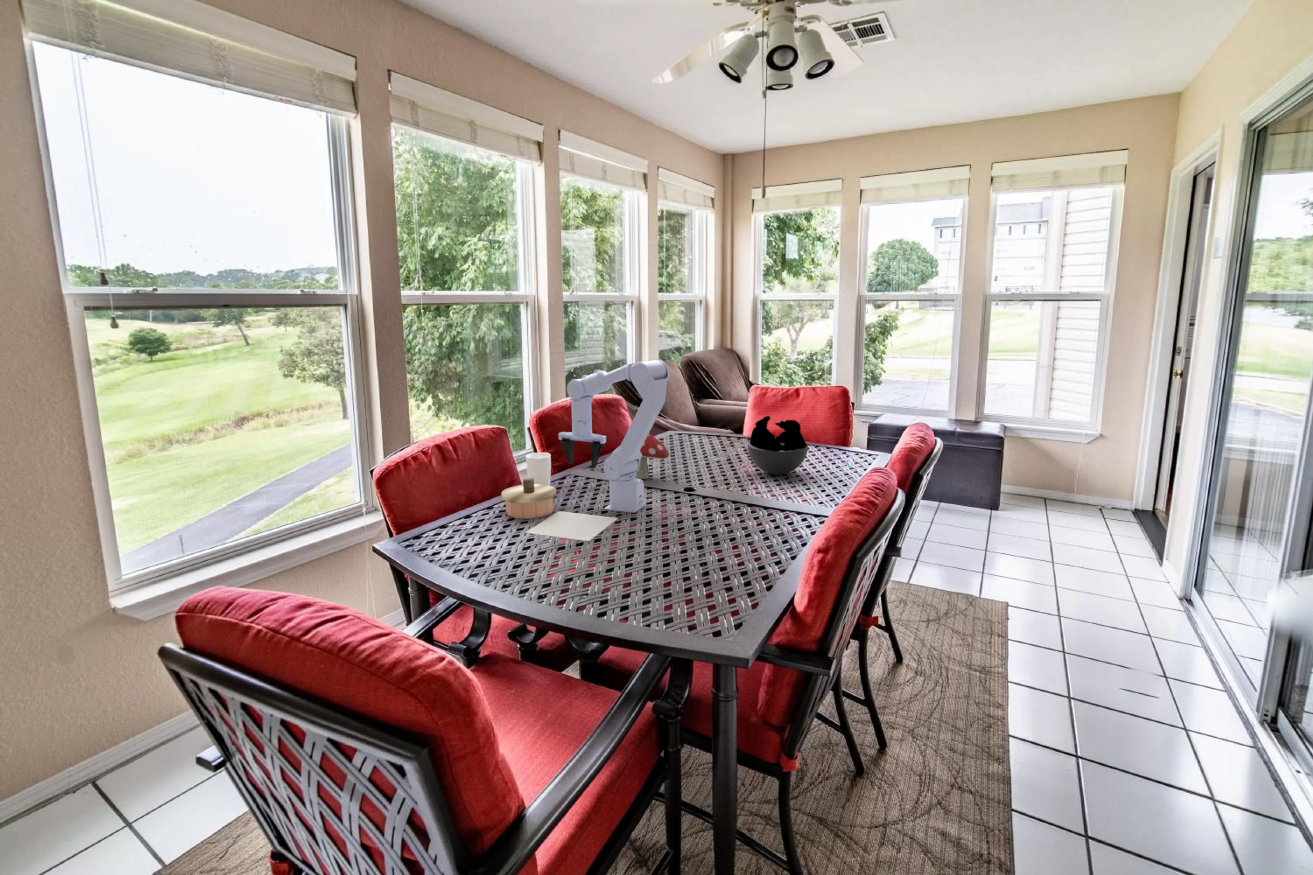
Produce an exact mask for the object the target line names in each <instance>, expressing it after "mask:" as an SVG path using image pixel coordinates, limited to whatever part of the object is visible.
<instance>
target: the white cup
mask: <svg viewBox="0 0 1313 875" xmlns="http://www.w3.org/2000/svg"><path fill="white" fill-rule="evenodd" d="M551 456H552V455H551V453H548V452H532V453H528V454H526V455H525V464H526V474H527V478H533V479H534V484H542V485H549V486H551V473H552V472H551V471H552V470H551V469H552V467H551V466H552V461H551V460H552V458H551Z"/></svg>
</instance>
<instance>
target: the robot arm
mask: <svg viewBox="0 0 1313 875" xmlns="http://www.w3.org/2000/svg"><path fill="white" fill-rule="evenodd" d="M669 371H670V370H669V367H668V366H667V364H666V362H665V361H663V360H662V359H660V358H659V359H658V358H657V359H653V360H647V361H646V360H645V361H635V362H633V363H627V364H624V365H623V366H620V367H618V368H615V369H613V370H611V371H608V372H607V371H605V370H601V369H595V370H593V373H591V374H589V375H588V374H584V375H582V376H581V378H577V379H576V378H573V379H571V380H570V381H569V382H568V383H567V386H566V391H567V395H568V396H569V398H570V399H571V426H572V427H571V432H570V431H568V432H567V431H561V432H559V433H558V440H560V446H561V447H562V449H563V452H564V454H565V456H566V459H567V463H568V465H572V464H574V463H575V443H576V442H577V441H578V442H588V443H590V444H589V450H590V455H591V468H595V467H598V462H599V457H600V454H601V451H602V449H603V447H604V446H605V443H607V436H606V435H602V434H597V433H593V427H592V426H593V424H592V423H593V422H592V421H593V420H592V418H593V417H592V412H593V411H592V403H593V401H594V396H595V395H597V394H600V393H603V392H605V391H606V392H607V391H608V390H610V389H611V386H612V384H614V383H618V382H621V381H624V380H627V381H628V382H629V381H631V383H632V384H633V387H634V388H635V389H636V391H637V392H638V395H639V396H640V397H641V398H642V401H641V403H640V406H639V407H638V409H637V412H636V413H635V416H634V418H633V419H632V421H631V424H630V426H629V427H628V430H627V432H626V434H625V436H624V438H623V440H622V441H621V444H620V445H619V446H618V447H616V448H615V449H614V450H613V451H612V452H611V453H610V456H608V457H607V458H606V459H604V462H603V465H602V466H603V467H602V468H603V469H602V470H603V472H604V474H605V476H606V477H607V480H609V482H608V483H609V504H608V505H607V506H605V507H604V509H605V510H609V511H619V512H628V513H637V512H638V511H639V510H640V509H641V508H643V507H645V505H646V503H645V483H644V479H637V478H635V476H636V472H637V471H638V470H639V467H640V460H641V457H642V454H641V452H640V449H641V447H642V445H643V443H644V441H645V439H646V438H647V436H648V434H650V431H651V430H652V428H653V426H654V424H655V423H656V420H657V418H658V416H659V414H660V412H661V410H662V409H663V407H664V405H665V402H666V397H667V396H666V395H667V383H668V382H669V380H670V377H671V374H670V372H669Z"/></svg>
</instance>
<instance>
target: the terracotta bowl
mask: <svg viewBox="0 0 1313 875" xmlns="http://www.w3.org/2000/svg"><path fill="white" fill-rule="evenodd" d="M554 505H555V504H554V497H553V498H551V499H549V500H546V501H542V502H536V503H512V502H507V501H505V511H506V512H505V513H506V515H508V516H510V517H511V518H516V519H517V518H518V519H535V518H541V517H544V516H547V515H548V516H549V515H551V513H553V512H554V509H555V507H554Z"/></svg>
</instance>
